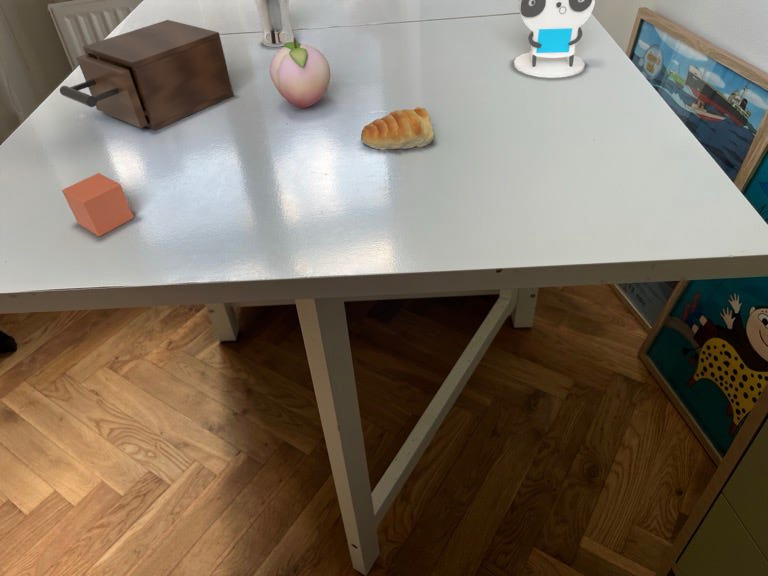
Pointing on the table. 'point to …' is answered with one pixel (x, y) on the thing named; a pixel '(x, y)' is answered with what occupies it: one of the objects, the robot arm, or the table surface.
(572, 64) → the panda figurine
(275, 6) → the beer glass
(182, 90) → the cabinet
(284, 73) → the decorative fruit
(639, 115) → the table surface
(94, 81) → the drawer
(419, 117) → the pastry
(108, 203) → the block
